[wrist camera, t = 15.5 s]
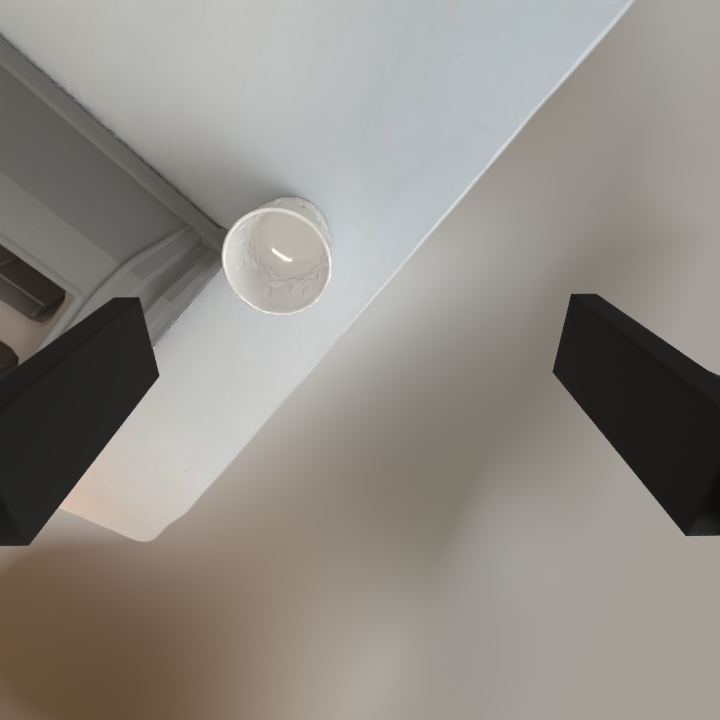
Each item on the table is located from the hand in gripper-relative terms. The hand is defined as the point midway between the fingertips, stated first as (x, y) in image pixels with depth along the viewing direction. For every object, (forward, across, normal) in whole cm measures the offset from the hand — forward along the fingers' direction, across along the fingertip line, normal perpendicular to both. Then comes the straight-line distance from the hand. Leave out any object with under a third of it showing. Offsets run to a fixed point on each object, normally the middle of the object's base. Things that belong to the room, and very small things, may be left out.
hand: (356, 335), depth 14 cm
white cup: (+29, +6, +3) cm, 30 cm away
